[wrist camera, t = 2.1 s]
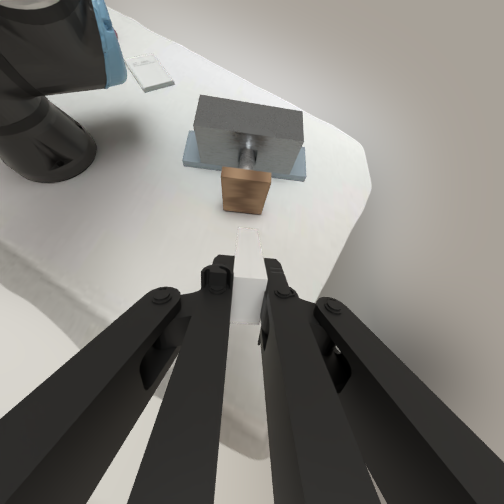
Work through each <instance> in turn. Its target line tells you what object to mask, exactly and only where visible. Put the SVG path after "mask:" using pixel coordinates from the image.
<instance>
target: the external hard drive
mask: <svg viewBox="0 0 504 504" xmlns="http://www.w3.org/2000/svg"><path fill="white" fill-rule="evenodd" d="M124 61H125V64H126V65H127V67H128V68H129V70H130V71H131V73H132V74H133V76H134V77H135V79H136V80H137V82H138V83H139V84H140V86H141V87H142V89H143V90H144V92H145V93H146V92H149V91H153V90H157V89H161V88H164V87H168V86H172V85H175V84H174V81H173V79H172V78H171V77H170V75H169V74H168V73H167V71H166V70H165V69H164V67H163V66H162V64H161V63H160V62H159V60H158V59H157V58H156V56H155V55H154V54H153V53H150V54H145V55H141V56H136V57H131V58H126V59H124Z"/></svg>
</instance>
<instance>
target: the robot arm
mask: <svg viewBox="0 0 504 504" xmlns="http://www.w3.org/2000/svg"><path fill="white" fill-rule="evenodd" d="M126 79H127V70H126V66H125V62H124V59H123V55H122V52H121V49H120V46H119V43H118V40H117V37H116V34H115V31H114V29H113V27H112V23H111V20H110V17H109V14H108V10H107V8H106V5H105V2H104V0H0V158H1V159H2V160H3V162H4V163H5V164H6V165H7V166H8V167H10V168H11V169H12V170H14V171H16V172H17V173H19V174H20V175H22V176H23V177H25V178H27V179H29V180H33V181H37V182H58V181H62V180H66V179H69V178H71V177H74V176H76V175H78V174H79V173H81V172H82V171H84V170H85V169H86V168H87V167H88V166H89V165H90V164H91V163H92V161H93V159H94V157H95V154H96V144H95V141H94V140H93V138H92V137H91V136H90V134H89V133H88V132H87V131H86V129H85V128H84V127H83V126H82V125H80V124H79V123H78V122H76V121H75V120H74V119H72V118H71V117H70V116H69V115H67V114H66V113H65V112H63V111H62V110H61V109H59V108H58V107H57V106H55V105H54V104H53V103H51V102H50V101H49V100H48V99H47V98H46V97H45V96H46V95H54V94H63V93H71V92H79V91H88V90H96V89H108V88H109V87H111V86H115V85H120V84H123V83H124V82H125V81H126ZM260 318H261V330H260V335H259V340H258V345H260V343H261V354H262V365H263V377H264V389H265V401H266V412H267V424H268V436H269V448H270V459H271V471H272V483H273V494H274V504H381V502H380V500H379V497H378V495H377V492H376V490H375V487H374V485H373V482H372V480H371V477H370V475H369V472H368V470H369V471H370V473H371V475H372V477H373V479H374V480H375V482H376V484H377V486H378V488H379V489H380V491H381V493H382V495H383V497H384V498H385V500H386V502H387V504H504V463H503V461H502V460H501V459H500V458H499V457H498V456H497V455H496V454H495V453H494V452H493V451H492V450H491V449H490V448H489V447H488V446H487V445H486V444H485V443H484V442H483V441H482V440H481V439H479V437H478V436H476V434H474V432H473V431H472V430H471V429H470V428H469V427H468V426H466V425H465V423H463V422H462V421H461V420H460V419H459V418H458V417H457V416H456V415H455V414H454V413H453V412H452V411H451V410H450V409H449V408H448V407H447V406H446V405H445V404H444V403H443V402H442V401H441V400H440V399H439V398H438V397H437V396H436V395H435V394H434V393H433V392H432V391H431V390H430V389H429V388H428V387H427V386H426V385H425V384H424V383H423V382H422V381H421V380H420V379H419V378H418V377H417V376H416V375H415V374H414V373H413V372H412V371H411V370H410V369H409V368H408V367H407V366H406V365H405V364H404V363H403V362H402V361H401V360H400V359H399V358H398V357H397V356H396V355H395V354H394V353H393V352H392V351H391V350H390V349H389V348H388V347H387V346H386V345H385V344H384V343H383V342H382V341H381V340H380V339H379V338H378V337H377V336H376V335H375V334H374V333H373V332H372V331H371V330H370V329H369V328H368V327H366V325H365V324H364V323H363V322H362V321H361V320H360V319H359V318H358V317H357V316H356V315H355V314H354V313H353V312H351V310H349V308H347V306H345V305H344V304H343V303H341V302H340V301H338V300H336V299H333V298H330V297H322V298H319V299H318V301H317V302H316V304H315V303H312V302H308V301H305V300H302V299H300V298H299V297H298V294H297V293H296V291H295V290H293V289H292V288H291V287H289V286H288V283H287V280H286V277H285V275H284V272H283V269H282V266H281V264H280V263H279V262H278V261H277V260H276V259H270V258H263V253H262V248H261V243H260V238H259V233H258V229H252V228H242V227H238V232H237V242H236V251H235V256H228V255H218V256H217V257H215V258H214V261H213V264H212V265H209V266H207V267H205V268H203V270H202V271H201V290H199V291H197V292H194V293H190V294H183V295H180V292H179V291H178V289H175V288H173V287H160V288H157V289H154V290H152V291H150V292H148V293H147V294H146V295H144V296H143V297H142V298H141V299H140V300H139V301H137V302H136V303H135V304H134V305H133V306H132V307H130V308H129V309H128V310H127V311H126V312H125V313H123V314H122V315H121V316H120V317H119V318H118V319H116V320H115V321H114V322H113V323H112V324H111V325H109V326H108V327H107V328H106V329H105V330H104V331H102V332H101V333H100V334H99V335H98V336H97V337H95V338H94V339H93V340H92V341H91V342H90V343H88V344H87V345H86V346H85V347H84V348H83V349H81V350H80V351H79V352H78V353H77V354H76V355H75V356H73V357H72V358H71V359H70V360H69V361H67V362H66V363H65V364H64V365H63V366H62V367H60V368H59V369H58V370H57V371H56V372H55V373H53V374H52V375H51V376H50V377H49V378H48V379H46V380H45V381H44V382H43V383H42V384H41V385H39V386H38V387H37V388H36V389H35V390H34V391H32V392H31V393H30V394H29V395H28V396H27V397H25V398H24V399H23V400H22V401H21V402H19V403H18V404H17V405H16V406H15V407H14V408H12V409H11V410H10V411H9V412H8V413H7V414H5V416H3V417H2V418H1V419H0V504H86V503H87V501H88V500H89V498H90V496H91V495H92V493H93V492H94V490H95V488H96V487H97V485H98V483H99V482H100V480H101V478H102V477H103V475H104V474H105V472H106V470H107V469H108V467H109V466H110V464H111V462H112V461H113V459H114V457H115V456H116V454H117V452H118V451H119V449H120V448H121V446H122V444H123V443H124V441H125V440H126V438H127V436H128V435H129V433H130V431H131V430H132V428H133V426H134V425H135V423H136V422H137V420H138V418H139V417H140V415H141V413H142V412H143V410H144V409H145V407H146V405H147V404H148V402H149V400H150V399H151V397H152V396H153V394H154V392H155V391H156V389H157V387H158V386H159V384H160V383H161V381H162V379H163V378H164V376H165V374H166V373H167V371H168V370H169V368H170V366H171V365H172V363H173V361H174V360H175V358H176V357H177V355H178V357H177V360H176V363H175V366H174V369H173V371H172V374H171V377H170V380H169V383H168V386H167V389H166V392H165V395H164V398H163V401H162V403H161V406H160V409H159V412H158V415H157V418H156V421H155V424H154V427H153V430H152V433H151V435H150V438H149V441H148V444H147V447H146V450H145V453H144V456H143V459H142V462H141V464H140V468H139V471H138V473H137V476H136V479H135V482H134V486H133V488H132V491H131V494H130V496H129V499H128V503H127V504H214V494H215V482H216V471H217V460H218V449H219V438H220V427H221V415H222V404H223V393H224V382H225V371H226V360H227V349H228V337H229V326H230V323H239V324H258V325H259V323H260ZM336 346H337V347H338V348H339V350H340V351H341V352H339V351H338V350H337V349H336ZM178 353H179V354H178ZM365 464H366V465H365ZM366 466H367V467H366ZM367 468H368V470H367Z"/></svg>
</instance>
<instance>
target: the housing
mask: <svg viewBox="0 0 504 504" xmlns="http://www.w3.org/2000/svg"><path fill="white" fill-rule="evenodd" d="M193 126H194V131H190V130H189V134H188V138H187V142H186V147H185V151H184V155H183V160H182V161H183V164H184V166H189V167H197V168H204V169H212V170H220V171H222V166H224V167H232V168H239V164H240V154H241V149H242V148H249V149H254V150H255V162H254V171H262V172H270V173H271V177H274V178H281V179H289V180H297V181H304V180H305V178H306V161H305V147H302V145H303V142H304V136H303V114H302V111H296V110H290V109H284V108H278V107H272V106H266V105H260V104H254V103H248V102H242V101H236V100H230V99H224V98H218V97H212V96H206V95H200V97H199V102H198V106H197V111H196V115H195V120H194V124H193Z"/></svg>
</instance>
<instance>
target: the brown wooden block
mask: <svg viewBox="0 0 504 504" xmlns="http://www.w3.org/2000/svg"><path fill="white" fill-rule="evenodd" d="M254 162H255V150H254V149H249V148H242V149H241V154H240V164H239V168H232V167H224V166H222V172H221V184H222V198H223V210H226V211H235V212H244V213H253V214H261V213H262V210H263V207H264V204H265V200H266V197H267V194H268V191H269V188H270V185H271V173H270V172H262V171H254Z"/></svg>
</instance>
